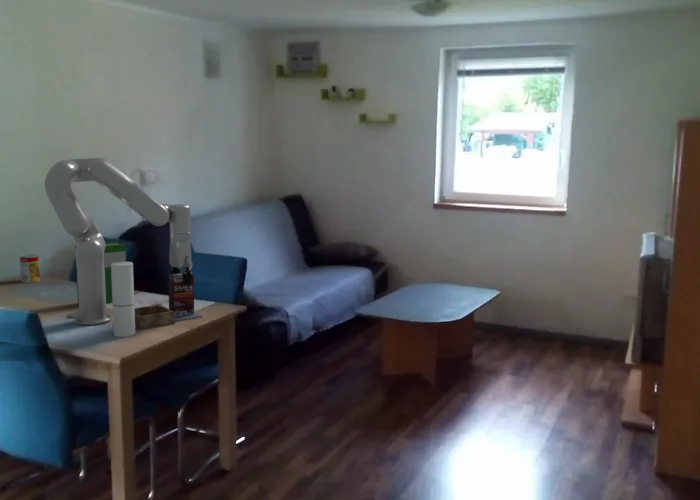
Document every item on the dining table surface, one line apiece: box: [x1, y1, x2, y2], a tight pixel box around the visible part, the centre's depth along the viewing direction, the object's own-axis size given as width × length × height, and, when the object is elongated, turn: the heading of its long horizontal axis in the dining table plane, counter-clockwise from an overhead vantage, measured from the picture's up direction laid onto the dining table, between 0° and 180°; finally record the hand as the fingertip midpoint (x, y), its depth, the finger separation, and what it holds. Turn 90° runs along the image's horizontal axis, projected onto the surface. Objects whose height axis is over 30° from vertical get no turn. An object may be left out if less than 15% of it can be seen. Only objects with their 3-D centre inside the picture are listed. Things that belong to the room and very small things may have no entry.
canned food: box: [19, 253, 41, 284], centre depth 320 cm, size 8×8×12 cm
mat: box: [175, 311, 203, 323], centre depth 263 cm, size 11×11×1 cm
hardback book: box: [74, 241, 127, 305], centre depth 282 cm, size 18×7×24 cm, turn 131°
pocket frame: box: [134, 304, 176, 330], centre depth 254 cm, size 13×13×4 cm
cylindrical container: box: [111, 261, 136, 338], centre depth 237 cm, size 7×7×25 cm
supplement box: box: [168, 272, 195, 317], centre depth 262 cm, size 9×5×16 cm, turn 127°
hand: (181, 281), depth 261 cm, fingers open, 9 cm apart
